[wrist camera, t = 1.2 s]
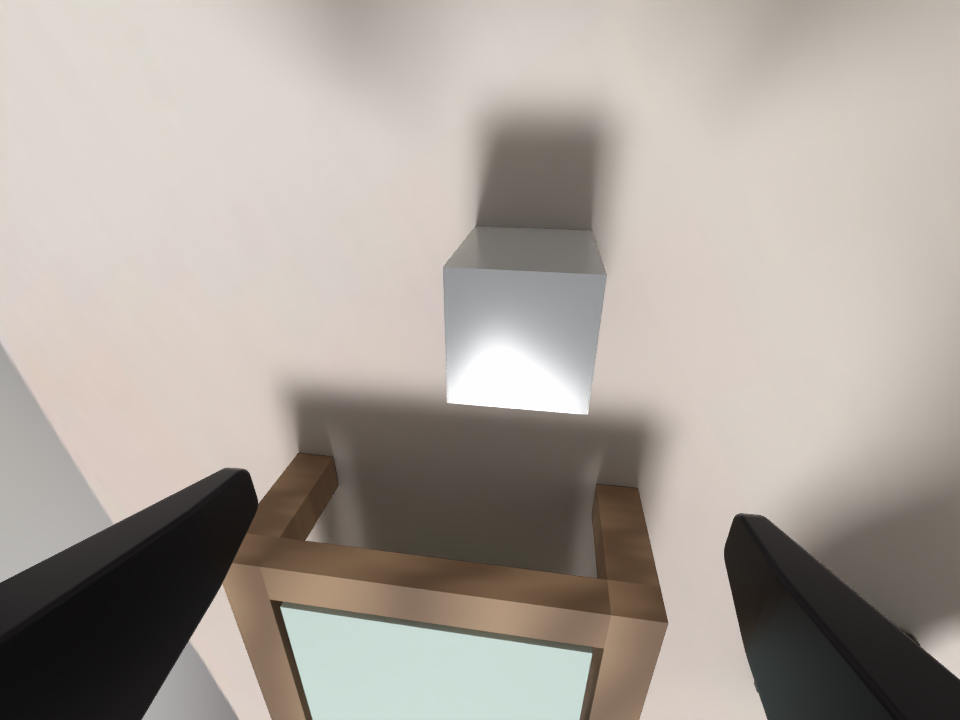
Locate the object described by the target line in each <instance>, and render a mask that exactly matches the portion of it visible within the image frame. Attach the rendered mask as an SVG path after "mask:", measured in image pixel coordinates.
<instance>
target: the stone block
mask: <svg viewBox="0 0 960 720" xmlns="http://www.w3.org/2000/svg"><path fill="white" fill-rule="evenodd" d="M606 276H607V274H606V271H605V268H604V265H603V263H602V260H601V257H600V254H599V251H598V248H597V245H596V242H595V239H594V236H593V233H592V230H567V229H540V228H512V227H485V226H475V227H474V229H473V230H472V231H471V232H470V234H469V235H468V236H467V238H466V239H465V240H464V241H463V243H462V244H461V245H460V246H459V248H458V249H457V250H456V251H455V253H454V254H453V255H452V256H451V258H450V259H449V260H448V262H447V263H446V264H445V265H444V267H443V280H444V314H445V349H446V383H447V403H455V404H467V405H478V406H490V407H502V408H514V409H525V410H537V411H549V412H561V413H573V414H584V415H588V410H589V403H590V395H591V388H592V380H593V373H594V366H595V358H596V351H597V343H598V336H599V328H600V321H601V313H602V306H603V299H604V291H605V284H606Z"/></svg>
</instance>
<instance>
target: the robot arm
mask: <svg viewBox="0 0 960 720" xmlns="http://www.w3.org/2000/svg"><path fill="white" fill-rule="evenodd" d="M257 509H258V498H257V495H256V492H255V489H254V485H253V482H252V479H251V476H250V473H249V472H248V471H247V470H245V469H239V468H224V469H222V470H220V471H218V472H216V473H214V474H212V475H210V476H208V477H206V478H204V479H202V480H200V481H198V482H196V483H194V484H192V485H191V486H189V487H187V488H185V489H183V490H181V491H179V492H177V493H175V494H173V495H171V496H169V497H167V498H165V499H163V500H161V501H159V502H157V503H155V504H153V505H151V506H149V507H148V508H146V509H144V510H142V511H140V512H138V513H136V514H134V515H132V516H130V517H128V518H126V519H124V520H122V521H120V522H118V523H116V524H114V525H112V526H110V527H109V528H107V529H105V530H103V531H101V532H99V533H97V534H95V535H93V536H91V537H89V538H87V539H85V540H83V541H81V542H79V543H77V544H75V545H73V546H71V547H69V548H68V549H65V550H64V551H62V552H60V553H58V554H56V555H54V556H52V557H50V558H48V559H46V560H44V561H42V562H40V563H38V564H36V565H34V566H32V567H30V568H29V569H26V570H25V571H22V572H21V573H19V574H17V575H15V576H13V577H11V578H9V579H7V580H5V581H3V582H1V583H0V720H142V718H143V716H144V715H145V713H146V711H147V710H148V708H149V706H150V705H151V703H152V701H153V700H154V698H155V696H156V695H157V693H158V691H159V690H160V688H161V686H162V685H163V683H164V681H165V680H166V678H167V676H168V675H169V673H170V671H171V670H172V668H173V666H174V665H175V663H176V661H177V660H178V658H179V656H180V654H181V653H182V651H183V649H184V648H185V646H186V644H187V643H188V641H189V639H190V638H191V636H192V634H193V633H194V631H195V629H196V628H197V626H198V624H199V623H200V621H201V619H202V618H203V616H204V614H205V613H206V611H207V609H208V608H209V606H210V604H211V603H212V601H213V599H214V597H215V596H216V594H217V592H218V590H219V589H220V587H221V585H222V583H223V581H224V579H225V577H226V575H227V573H228V571H229V569H230V567H231V565H232V563H233V561H234V559H235V557H236V554H237V552H238V550H239V548H240V546H241V544H242V542H243V540H244V538H245V536H246V534H247V531H248V529H249V527H250V525H251V523H252V521H253V519H254V517H255V515H256V512H257ZM724 559H725V564H726V569H727V573H728V578H729V582H730V587H731V591H732V596H733V600H734V605H735V609H736V614H737V618H738V623H739V627H740V632H741V636H742V640H743V644H744V648H745V652H746V656H747V659H748V662H749V665H750V669H751V672H752V675H753V678H754V684H755V687H756V690H757V692H758V693H759V696H760V698H761V701H762V704H763V707H764V710H765V713H766V716H767V719H768V720H960V679H959V678H957V677H956V676H955V675H954V674H953V673H951V672H950V671H949V670H948V669H947V668H945V667H944V666H943V665H942V664H941V663H939V662H938V661H937V660H936V659H935V658H933V657H932V656H931V655H930V654H929V653H927V652H926V651H925V650H924V649H923V648H921V647H920V644H919V643H918V641H917V640H916V638H915V637H914V636H913V635H911V634H907V633H904V632H902V631H901V630H900V629H899V628H898V627H896V626H895V625H894V624H893V623H892V622H890V621H889V620H888V619H887V618H886V617H884V616H883V615H882V614H881V613H880V612H878V611H877V610H876V609H875V608H874V607H872V606H871V605H870V604H869V603H868V602H866V601H865V600H864V599H863V598H862V597H860V596H859V595H858V594H857V593H856V592H854V591H853V590H852V589H851V588H850V587H849V586H847V585H846V584H845V583H844V582H843V581H841V580H840V579H839V578H838V577H837V576H835V575H834V574H833V573H832V572H831V571H829V570H828V569H827V568H826V567H825V566H823V565H822V564H821V563H820V562H819V561H817V560H816V559H815V558H814V557H813V556H811V555H810V554H809V553H808V552H807V551H805V550H804V549H803V548H802V547H801V546H799V545H798V544H797V543H796V542H795V541H793V540H792V539H791V538H790V537H789V536H788V535H786V534H785V533H784V532H783V531H782V530H780V529H779V528H778V527H777V526H776V525H774V524H773V523H772V522H771V521H770V520H768V519H767V518H766V517H764V516H761V515H754V514H743V513H740V514H737V515H736V516H735V517H734V519H733V522H732V525H731V528H730V531H729V534H728V537H727V541H726V544H725V548H724Z"/></svg>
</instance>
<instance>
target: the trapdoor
mask: <svg viewBox="0 0 960 720" xmlns="http://www.w3.org/2000/svg"><path fill="white" fill-rule="evenodd" d="M280 608H281V611H282V615H283V618H284V622H285V625H286V629H287V632H288V636H289V639H290V643H291V646H292V650H293V653H294V657H295V660H296V663H297V667H298V670H299V674H300V677H301V681H302V684H303V688H304V691H305V695H306V698H307V702H308V705H309V709H310V712H311V716H312V719H313V720H580V715H581V709H582V704H583V699H584V694H585V689H586V684H587V679H588V673H589V668H590V663H591V658H592V647H589V646H582V645H576V644H569V643H562V642H555V641H548V640H542V639H535V638H528V637H521V636H514V635H508V634H501V633H494V632H487V631H480V630H474V629H467V628H460V627H453V626H446V625H440V624H433V623H426V622H419V621H412V620H406V619H399V618H392V617H385V616H378V615H372V614H365V613H358V612H351V611H344V610H338V609H331V608H324V607H317V606H310V605H304V604H297V603H290V602H283V603H282V605H281V606H280Z"/></svg>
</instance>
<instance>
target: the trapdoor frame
mask: <svg viewBox="0 0 960 720" xmlns="http://www.w3.org/2000/svg"><path fill="white" fill-rule="evenodd" d="M337 487H338V481H337V475H336V469H335V463H334V458H333V457H329V456H320V455H310V454H301V453H298V454H297V456H296V457H295V458H294V459H293V461H292V462H291V463H290V464H289V466H288V467H287V468H286V470H285V471H284V472H283V473H282V475H281V476H280V477H279V478H278V480H277V481H276V482H275V484H274V485H273V486H272V487H271V489H270V490H269V491H268V492H267V494H266V495H265V496H264V498H263V499H262V500H261V501H260V503H259V504H258V509H257V512H256V515H255V517H254V519H253V521H252V523H251V525H250V527H249V529H248V531H247V534H246V536H245V538H244V540H243V542H242V544H241V546H240V548H239V550H238V552H237V554H236V557H235V559H234V561H233V563H232V565H231V567H230V569H229V571H228V573H227V575H226V577H225V579H224V581H223V583H222V584H223V586H224V589H225V592H226V595H227V597H228V600H229V603H230V606H231V608H232V611H233V614H234V617H235V619H236V622H237V625H238V628H239V631H240V633H241V636H242V639H243V642H244V644H245V647H246V650H247V653H248V655H249V658H250V661H251V664H252V666H253V669H254V672H255V675H256V677H257V680H258V683H259V686H260V689H261V691H262V694H263V697H264V700H265V702H266V705H267V708H268V711H269V713H270V716H271V719H272V720H313V719H312V716H311V712H310V709H309V705H308V702H307V698H306V695H305V691H304V688H303V684H302V681H301V677H300V674H299V670H298V667H297V663H296V660H295V657H294V653H293V650H292V646H291V643H290V639H289V636H288V632H287V629H286V625H285V622H284V618H283V615H282V611H281V608H280V606H281V605H282V603H283V602H290V603H297V604H304V605H310V606H317V607H324V608H331V609H338V610H344V611H351V612H358V613H365V614H372V615H378V616H385V617H392V618H399V619H406V620H412V621H419V622H426V623H433V624H440V625H446V626H453V627H460V628H467V629H474V630H480V631H487V632H494V633H501V634H508V635H514V636H521V637H528V638H535V639H542V640H548V641H555V642H562V643H569V644H576V645H582V646H589V647H594V650H593V656H592V661H591V666H590V671H589V674H588V679H587V684H586V689H585V694H584V699H583V704H582V709H581V715H580V720H639V719H640V715H641V712H642V709H643V705H644V702H645V699H646V695H647V692H648V689H649V685H650V682H651V679H652V675H653V672H654V669H655V665H656V662H657V659H658V656H659V652H660V649H661V646H662V642H663V639H664V636H665V632H666V629H667V626H668V620H667V615H666V611H665V606H664V602H663V598H662V593H661V589H660V584H659V580H658V575H657V571H656V566H655V562H654V557H653V553H652V549H651V544H650V540H649V535H648V531H647V526H646V522H645V517H644V513H643V508H642V504H641V500H640V495H639V491H638V488H628V487H618V486H609V485H599V484H597V485H596V491H595V497H594V504H593V510H592V521H593V532H594V543H595V554H596V565H597V575H598V579H597V578H590V577H582V576H574V575H566V574H559V573H551V572H543V571H535V570H527V569H520V568H512V567H504V566H496V565H489V564H481V563H473V562H465V561H458V560H450V559H442V558H434V557H427V556H419V555H411V554H403V553H395V552H388V551H380V550H372V549H364V548H357V547H349V546H341V545H333V544H326V543H318V542H310V541H305V540H306V538H307V537H308V535H309V533H310V532H311V530H312V528H313V527H314V525H315V523H316V522H317V520H318V518H319V517H320V515H321V513H322V512H323V510H324V508H325V507H326V505H327V503H328V502H329V500H330V499H331V497H332V495H333V494H334V492H335V490H336V489H337Z"/></svg>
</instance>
